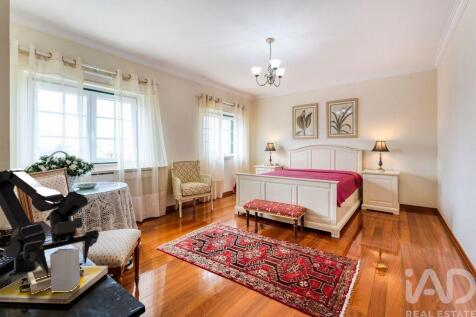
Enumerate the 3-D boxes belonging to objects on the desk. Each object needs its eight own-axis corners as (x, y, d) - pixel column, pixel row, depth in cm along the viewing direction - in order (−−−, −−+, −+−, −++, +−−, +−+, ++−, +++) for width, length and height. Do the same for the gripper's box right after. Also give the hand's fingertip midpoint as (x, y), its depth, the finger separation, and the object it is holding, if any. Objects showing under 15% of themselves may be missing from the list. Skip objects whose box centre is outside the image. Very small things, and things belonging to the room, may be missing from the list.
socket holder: (27, 281, 72) (27, 272, 72) (66, 270, 79) (66, 261, 79) (32, 294, 65) (32, 284, 65) (73, 280, 73) (73, 271, 73)
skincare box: (80, 284, 70) (80, 247, 70) (71, 293, 66) (71, 253, 66) (60, 285, 70) (60, 247, 70) (49, 294, 65) (49, 254, 65)
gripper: (23, 216, 64) (25, 267, 56) (97, 206, 77) (107, 246, 70) (22, 236, 69) (24, 285, 62) (91, 223, 83) (100, 262, 75)
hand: (67, 268), depth 67 cm, fingers open, 9 cm apart
